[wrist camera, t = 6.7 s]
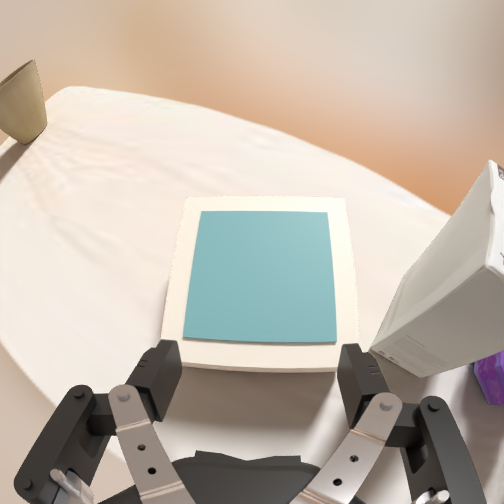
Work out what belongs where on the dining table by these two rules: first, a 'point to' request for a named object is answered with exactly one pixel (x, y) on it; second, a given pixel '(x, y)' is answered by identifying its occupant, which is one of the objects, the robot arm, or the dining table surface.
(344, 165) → the dining table surface
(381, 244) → the dining table surface
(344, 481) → the robot arm
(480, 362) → the lantern
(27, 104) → the plant pot
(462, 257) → the skincare box
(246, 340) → the block
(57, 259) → the dining table surface
